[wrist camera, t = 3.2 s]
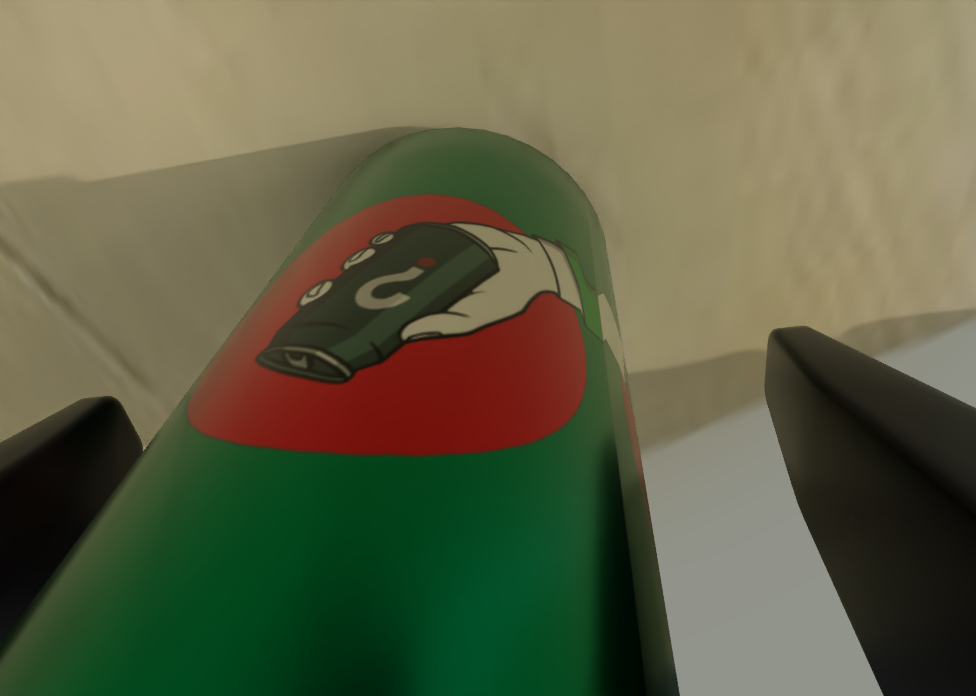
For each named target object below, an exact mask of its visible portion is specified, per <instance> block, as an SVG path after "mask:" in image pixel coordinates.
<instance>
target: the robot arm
mask: <svg viewBox="0 0 976 696" xmlns="http://www.w3.org/2000/svg"><path fill="white" fill-rule="evenodd" d="M765 395H766V401H767V404H768V408H769V411H770V414H771V417H772V421H773V424H774V428H775V431H776V434H777V437H778V441H779V444H780V447H781V451H782V454H783V457H784V460H785V464H786V467H787V471H788V474H789V477H790V480H791V484H792V487H793V490H794V493H795V496H796V499H797V502H798V505H799V507H800V510H801V512H802V515H803V517H804V519H805V522H806V524H807V526H808V529H809V531H810V533H811V535H812V538H813V540H814V542H815V544H816V546H817V549H818V551H819V553H820V555H821V558H822V560H823V562H824V564H825V566H826V568H827V571H828V573H829V575H830V577H831V580H832V582H833V584H834V586H835V589H836V591H837V593H838V595H839V597H840V600H841V602H842V604H843V606H844V609H845V611H846V613H847V615H848V618H849V620H850V622H851V624H852V626H853V629H854V631H855V633H856V635H857V638H858V640H859V642H860V644H861V647H862V649H863V651H864V653H865V655H866V658H867V660H868V662H869V664H870V666H871V669H872V671H873V673H874V675H875V678H876V680H877V682H878V684H879V686H880V689H881V691H882V693H883V695H884V696H976V408H974V407H972V406H970V405H968V404H966V403H964V402H962V401H960V400H958V399H956V398H954V397H951V396H949V395H947V394H945V393H943V392H941V391H939V390H937V389H935V388H933V387H931V386H929V385H927V384H925V383H923V382H921V381H918V380H917V379H915V378H913V377H910V376H908V375H906V374H904V373H902V372H900V371H898V370H896V369H894V368H892V367H890V366H888V365H886V364H884V363H882V362H880V361H878V360H875V359H873V358H871V357H869V356H867V355H865V354H863V353H861V352H859V351H857V350H855V349H853V348H851V347H849V346H847V345H845V344H843V343H840V342H838V341H836V340H834V339H832V338H830V337H828V336H826V335H824V334H822V333H820V332H818V331H816V330H814V329H812V328H809V327H807V326H796V327H787V328H778V329H774V330H773V331H772V332H771V333H770V335H769V338H768V347H767V360H766V374H765ZM142 453H143V446H142V442H141V440H140V437H139V436H138V434H137V432H136V430H135V428H134V426H133V424H132V423H131V421H130V419H129V417H128V415H127V413H126V411H125V410H124V408H123V406H122V404H121V403H120V402H119V401H118V400H117V399H116V398H114V397H111V396H103V397H93V398H85V399H82V400H79V401H77V402H75V403H74V404H72V405H70V406H68V407H66V408H64V409H62V410H61V411H59V412H57V413H55V414H53V415H51V416H49V417H47V418H46V419H44V420H42V421H40V422H38V423H36V424H34V425H33V426H31V427H29V428H27V429H25V430H23V431H21V432H20V433H18V434H16V435H14V436H12V437H10V438H8V439H7V440H5V441H3V442H1V443H0V644H1V643H2V641H3V640H4V639H5V637H6V636H7V635H8V633H9V632H10V631H11V629H12V628H13V626H14V625H15V624H16V622H17V621H18V620H19V618H20V617H21V616H22V614H23V613H24V612H25V610H26V609H27V608H28V606H29V605H30V604H31V602H32V601H33V600H34V598H35V597H36V596H37V594H38V593H39V591H40V590H41V589H42V587H43V586H44V585H45V583H46V582H47V581H48V579H49V578H50V577H51V575H52V574H53V573H54V571H55V570H56V569H57V567H58V566H59V565H60V563H61V562H62V560H63V559H64V558H65V556H66V555H67V554H68V552H69V551H70V550H71V548H72V547H73V546H74V544H75V543H76V542H77V540H78V539H79V538H80V536H81V535H82V534H83V532H84V531H85V529H86V528H87V527H88V525H89V524H90V523H91V521H92V520H93V519H94V517H95V516H96V515H97V513H98V512H99V511H100V509H101V508H102V507H103V505H104V504H105V503H106V501H107V500H108V499H109V497H110V496H111V494H112V493H113V492H114V490H115V489H116V488H117V486H118V485H119V484H120V482H121V481H122V480H123V478H124V477H125V476H126V474H127V473H128V472H129V470H130V469H131V468H132V466H133V465H134V463H135V462H136V461H137V459H138V458H139V457H140V455H141V454H142Z"/></svg>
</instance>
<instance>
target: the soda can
mask: <svg viewBox="0 0 976 696" xmlns="http://www.w3.org/2000/svg"><path fill="white" fill-rule="evenodd" d="M0 696H680V694H679V687H678V681H677V675H676V670H675V663H674V657H673V651H672V645H671V639H670V633H669V626H668V620H667V614H666V608H665V602H664V596H663V590H662V584H661V578H660V572H659V566H658V559H657V553H656V547H655V541H654V535H653V529H652V523H651V517H650V511H649V505H648V499H647V493H646V486H645V480H644V474H643V468H642V462H641V456H640V450H639V444H638V438H637V432H636V426H635V419H634V413H633V407H632V401H631V395H630V389H629V383H628V377H627V371H626V365H625V359H624V353H623V346H622V340H621V334H620V328H619V322H618V316H617V310H616V304H615V298H614V292H613V286H612V279H611V273H610V267H609V261H608V255H607V249H606V243H605V237H604V233H603V231H602V228H601V225H600V222H599V219H598V217H597V214H596V212H595V210H594V209H593V207H592V205H591V203H590V201H589V200H588V198H587V196H586V194H585V193H584V192H583V191H582V189H581V188H580V187H579V186H578V184H577V183H576V182H575V181H574V179H573V178H572V177H571V176H570V175H569V174H568V173H567V172H566V171H565V170H563V169H562V168H561V167H560V166H559V165H558V164H557V163H556V162H555V161H553V160H552V159H551V158H549V157H548V156H546V155H544V154H543V153H541V152H540V151H538V150H537V149H535V148H533V147H532V146H530V145H528V144H525V143H523V142H521V141H518V140H516V139H514V138H511V137H509V136H506V135H502V134H498V133H494V132H490V131H486V130H480V129H470V128H459V127H458V128H443V129H432V130H428V131H423V132H419V133H415V134H411V135H408V136H405V137H403V138H401V139H398V140H396V141H393V142H391V143H389V144H387V145H385V146H384V147H382V148H380V149H379V150H377V151H376V152H374V153H373V154H371V155H369V156H368V157H367V158H366V159H365V160H364V161H362V162H361V163H360V164H359V165H358V166H357V167H356V168H355V169H354V170H353V171H352V172H351V173H350V174H349V175H348V177H347V178H346V179H345V181H344V182H343V183H342V185H341V186H340V187H339V189H338V190H337V191H336V193H335V194H334V195H333V197H332V198H331V199H330V201H329V202H328V203H327V205H326V206H325V208H324V209H323V210H322V212H321V213H320V214H319V216H318V217H317V218H316V220H315V221H314V222H313V224H312V225H311V226H310V228H309V229H308V230H307V232H306V233H305V234H304V236H303V237H302V239H301V240H300V241H299V243H298V244H297V245H296V247H295V248H294V249H293V251H292V252H291V253H290V255H289V256H288V257H287V259H286V260H285V261H284V263H283V264H282V265H281V267H280V268H279V270H278V271H277V272H276V274H275V275H274V276H273V278H272V279H271V280H270V282H269V283H268V284H267V286H266V287H265V288H264V290H263V291H262V292H261V294H260V295H259V296H258V298H257V299H256V300H255V302H254V303H253V305H252V306H251V307H250V309H249V310H248V311H247V313H246V314H245V315H244V317H243V318H242V319H241V321H240V322H239V323H238V325H237V326H236V327H235V329H234V330H233V331H232V333H231V334H230V336H229V337H228V338H227V340H226V341H225V342H224V344H223V345H222V346H221V348H220V349H219V350H218V352H217V353H216V354H215V356H214V357H213V358H212V360H211V361H210V362H209V364H208V365H207V366H206V368H205V369H204V371H203V372H202V373H201V375H200V376H199V377H198V379H197V380H196V381H195V383H194V384H193V385H192V387H191V388H190V389H189V391H188V392H187V393H186V395H185V396H184V397H183V399H182V400H181V402H180V403H179V404H178V406H177V407H176V408H175V410H174V411H173V412H172V414H171V415H170V416H169V418H168V419H167V420H166V422H165V423H164V424H163V426H162V427H161V428H160V430H159V431H158V433H157V434H156V435H155V437H154V438H153V439H152V441H151V442H150V443H149V445H148V446H147V447H146V449H145V450H144V451H143V453H142V454H141V455H140V457H139V458H138V459H137V461H136V462H135V463H134V465H133V466H132V468H131V469H130V470H129V472H128V473H127V474H126V476H125V477H124V478H123V480H122V481H121V482H120V484H119V485H118V486H117V488H116V489H115V490H114V492H113V493H112V494H111V496H110V497H109V499H108V500H107V501H106V503H105V504H104V505H103V507H102V508H101V509H100V511H99V512H98V513H97V515H96V516H95V517H94V519H93V520H92V521H91V523H90V524H89V525H88V527H87V528H86V529H85V531H84V532H83V534H82V535H81V536H80V538H79V539H78V540H77V542H76V543H75V544H74V546H73V547H72V548H71V550H70V551H69V552H68V554H67V555H66V556H65V558H64V559H63V560H62V562H61V563H60V565H59V566H58V567H57V569H56V570H55V571H54V573H53V574H52V575H51V577H50V578H49V579H48V581H47V582H46V583H45V585H44V586H43V587H42V589H41V590H40V591H39V593H38V594H37V596H36V597H35V598H34V600H33V601H32V602H31V604H30V605H29V606H28V608H27V609H26V610H25V612H24V613H23V614H22V616H21V617H20V618H19V620H18V621H17V622H16V624H15V625H14V626H13V628H12V629H11V631H10V632H9V633H8V635H7V636H6V637H5V639H4V640H3V641H2V643H1V644H0Z"/></svg>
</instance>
